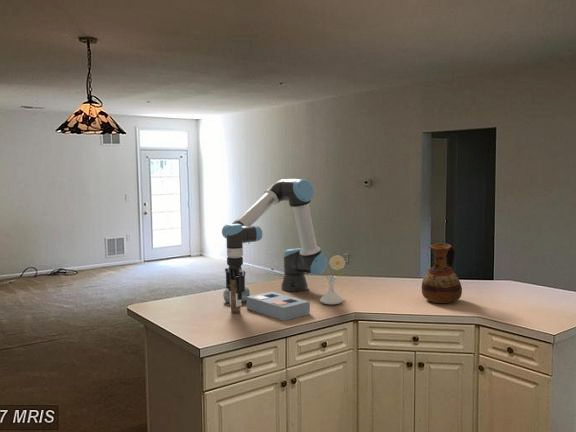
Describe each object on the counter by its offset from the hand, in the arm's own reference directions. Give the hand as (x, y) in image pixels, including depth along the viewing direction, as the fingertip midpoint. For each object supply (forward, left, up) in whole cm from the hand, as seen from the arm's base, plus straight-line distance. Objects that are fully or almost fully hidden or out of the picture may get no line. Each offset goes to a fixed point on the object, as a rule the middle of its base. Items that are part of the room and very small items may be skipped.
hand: (235, 304), depth 244 cm
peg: (0, 0, -4) cm, 4 cm away
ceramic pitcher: (+54, +91, -4) cm, 106 cm away
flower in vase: (+20, +46, -4) cm, 50 cm away
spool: (-16, +12, -4) cm, 20 cm away
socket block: (+12, +16, -4) cm, 20 cm away
